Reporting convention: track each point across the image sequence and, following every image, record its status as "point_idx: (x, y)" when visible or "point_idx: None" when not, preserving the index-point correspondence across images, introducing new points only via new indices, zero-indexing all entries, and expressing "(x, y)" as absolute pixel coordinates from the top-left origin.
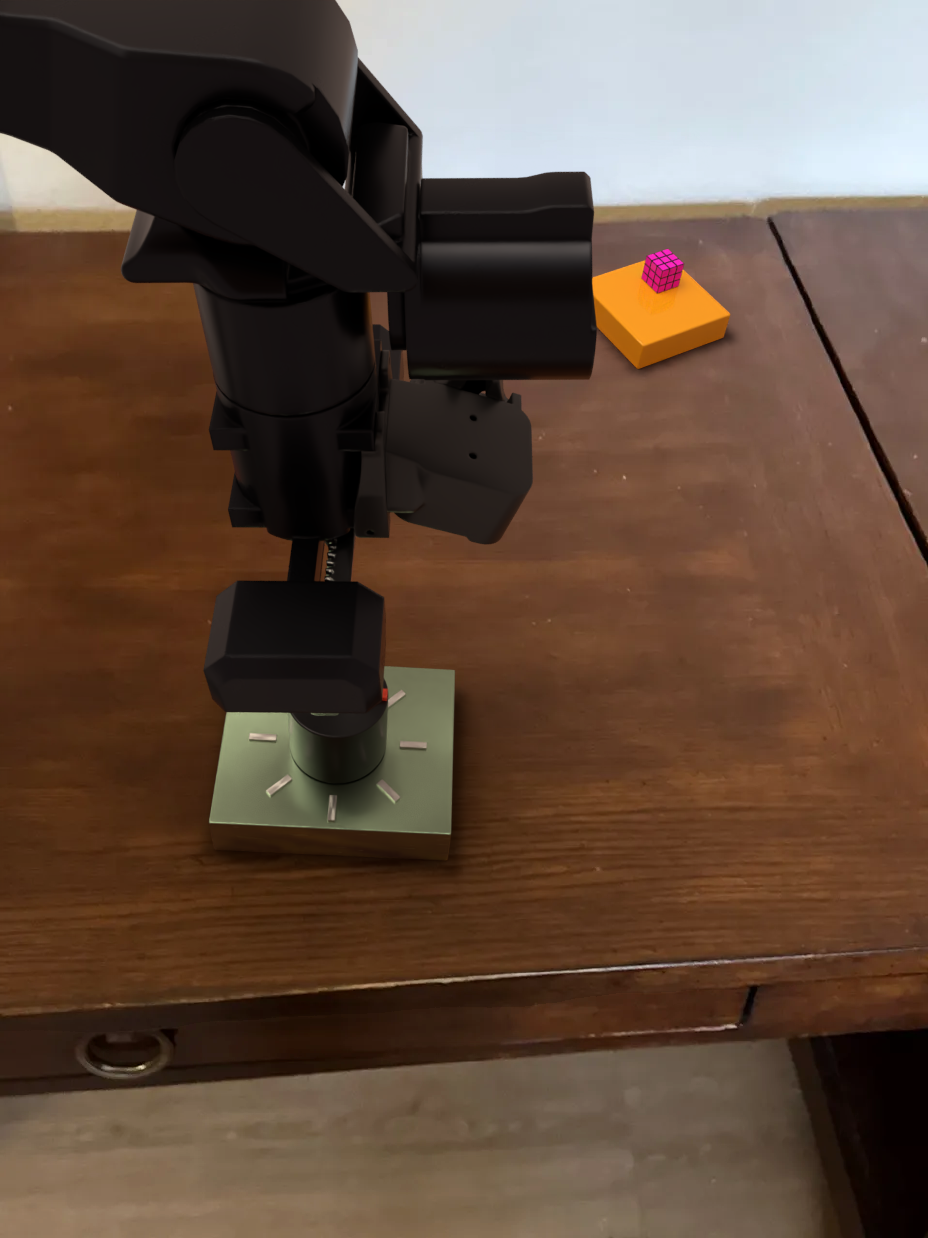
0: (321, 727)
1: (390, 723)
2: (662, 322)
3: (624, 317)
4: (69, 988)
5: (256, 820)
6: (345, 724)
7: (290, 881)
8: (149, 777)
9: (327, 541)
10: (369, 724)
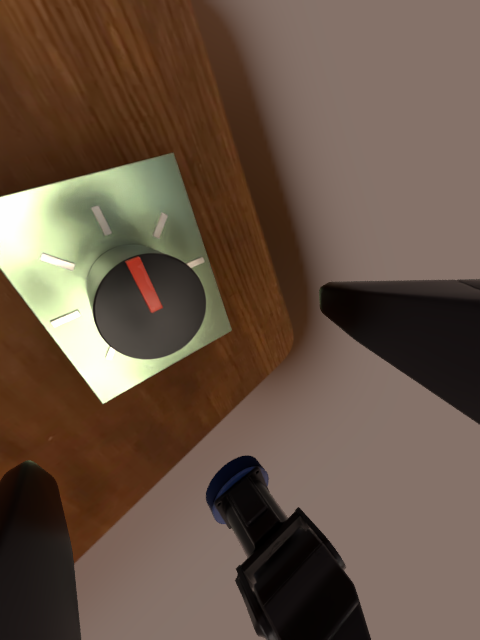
0: (198, 302)
1: (88, 253)
2: None
3: None
4: (289, 331)
5: (220, 306)
6: (186, 283)
7: (215, 268)
8: (189, 376)
9: (61, 512)
10: (175, 261)
